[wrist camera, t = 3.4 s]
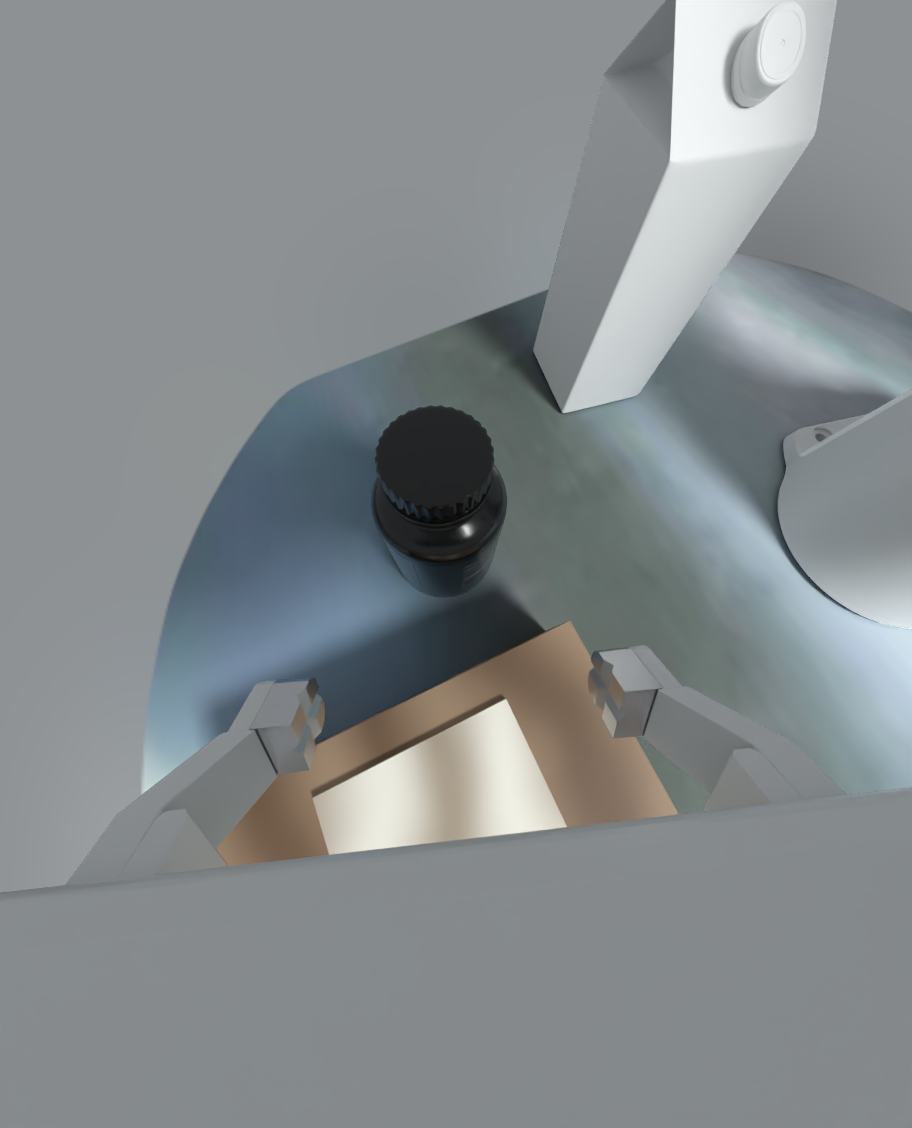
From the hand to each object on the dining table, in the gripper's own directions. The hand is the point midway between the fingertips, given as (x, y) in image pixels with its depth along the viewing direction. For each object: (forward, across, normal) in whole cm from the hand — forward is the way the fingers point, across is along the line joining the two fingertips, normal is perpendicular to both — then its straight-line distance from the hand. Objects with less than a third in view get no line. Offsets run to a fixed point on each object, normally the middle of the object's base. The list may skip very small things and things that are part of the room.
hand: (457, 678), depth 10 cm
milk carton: (+26, -14, -8) cm, 30 cm away
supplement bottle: (+15, 0, +3) cm, 16 cm away
